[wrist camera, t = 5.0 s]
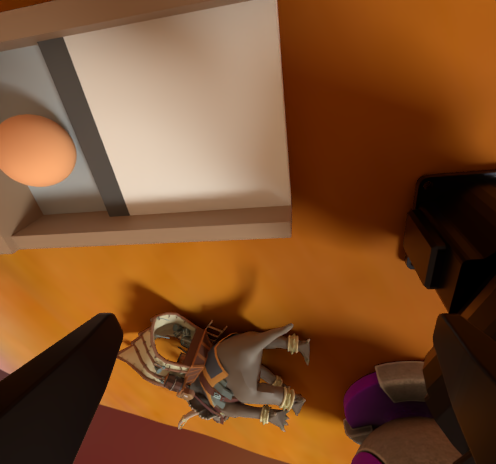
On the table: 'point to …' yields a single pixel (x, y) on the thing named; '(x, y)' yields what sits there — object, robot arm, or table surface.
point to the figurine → (218, 370)
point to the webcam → (395, 418)
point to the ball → (36, 150)
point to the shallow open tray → (149, 121)
